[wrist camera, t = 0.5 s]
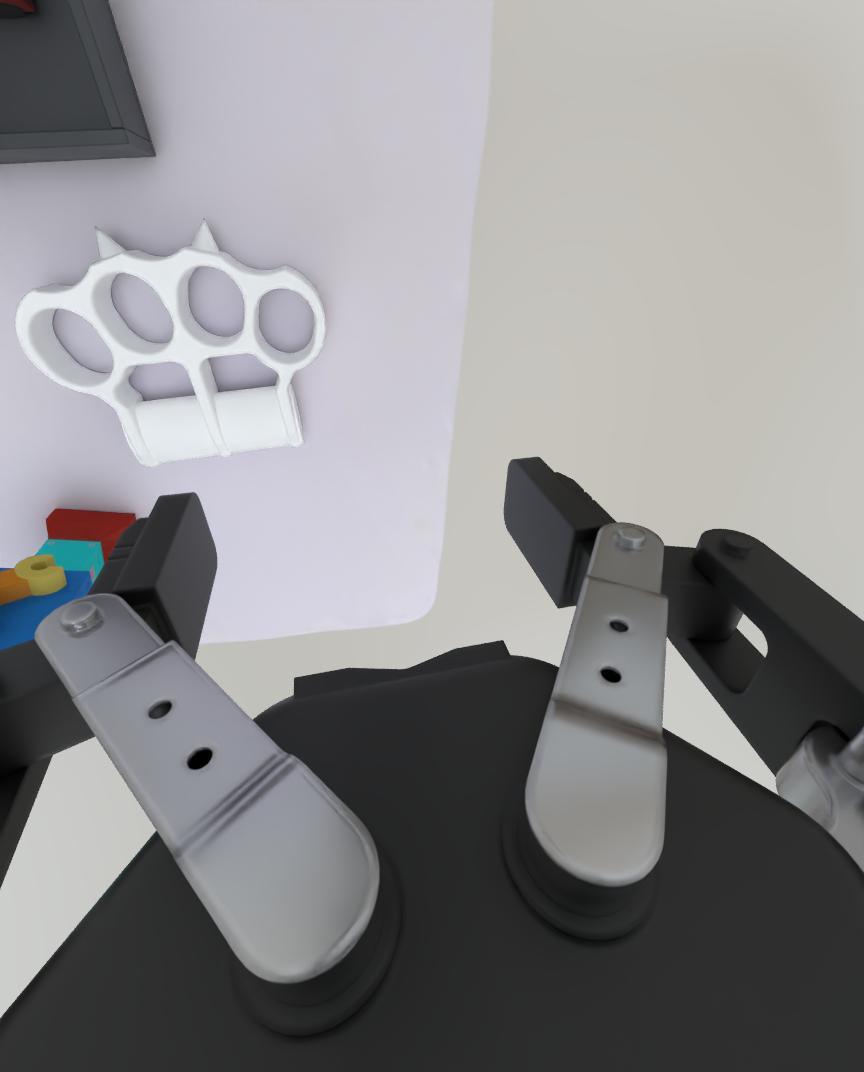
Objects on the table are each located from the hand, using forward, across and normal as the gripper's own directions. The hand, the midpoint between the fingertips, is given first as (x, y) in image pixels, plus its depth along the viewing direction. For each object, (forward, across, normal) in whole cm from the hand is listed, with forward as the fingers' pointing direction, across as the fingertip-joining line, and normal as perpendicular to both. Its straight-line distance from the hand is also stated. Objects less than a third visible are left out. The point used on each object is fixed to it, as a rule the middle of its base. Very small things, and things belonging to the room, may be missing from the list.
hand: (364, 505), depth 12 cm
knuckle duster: (+27, +9, +1) cm, 28 cm away
